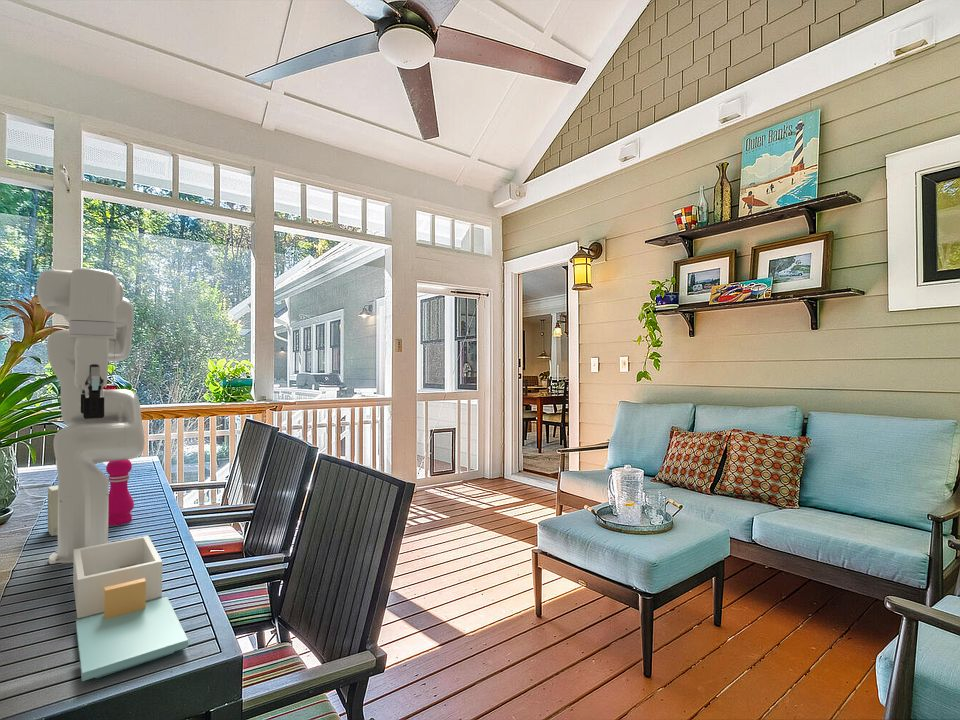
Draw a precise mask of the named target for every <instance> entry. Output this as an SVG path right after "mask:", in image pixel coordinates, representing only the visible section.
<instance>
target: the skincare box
mask: <svg viewBox="0 0 960 720" xmlns="http://www.w3.org/2000/svg"><path fill="white" fill-rule="evenodd" d="M48 532H49V533H48ZM47 533H48V534H49V535H50V536H51V537H54V536H58V485H51V486H48V487H47Z"/></svg>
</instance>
